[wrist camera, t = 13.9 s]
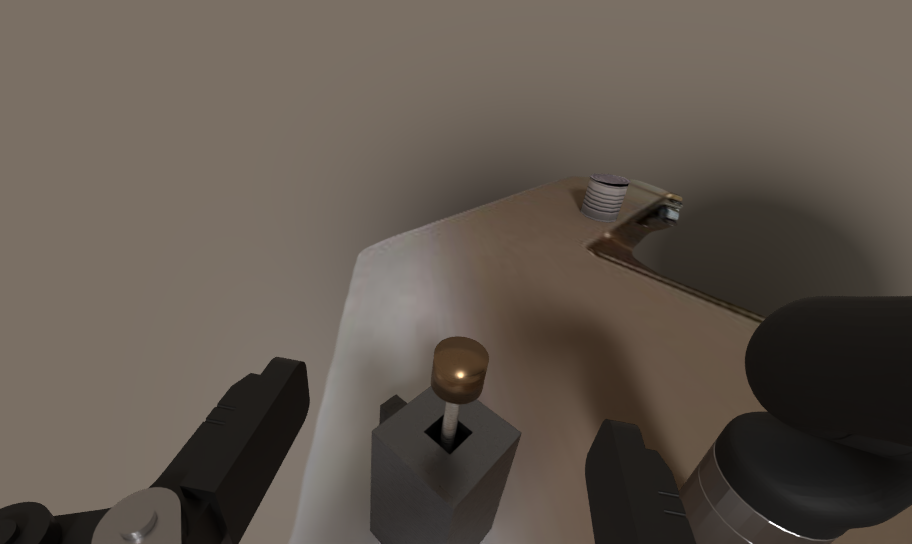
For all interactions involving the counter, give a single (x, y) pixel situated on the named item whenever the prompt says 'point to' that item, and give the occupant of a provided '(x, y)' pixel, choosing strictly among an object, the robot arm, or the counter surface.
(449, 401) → the plunger
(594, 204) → the can
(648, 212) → the counter surface
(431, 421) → the square hole block
